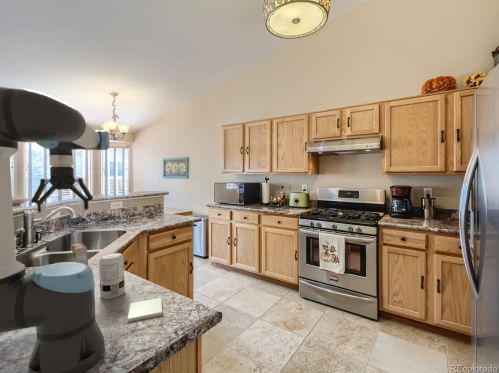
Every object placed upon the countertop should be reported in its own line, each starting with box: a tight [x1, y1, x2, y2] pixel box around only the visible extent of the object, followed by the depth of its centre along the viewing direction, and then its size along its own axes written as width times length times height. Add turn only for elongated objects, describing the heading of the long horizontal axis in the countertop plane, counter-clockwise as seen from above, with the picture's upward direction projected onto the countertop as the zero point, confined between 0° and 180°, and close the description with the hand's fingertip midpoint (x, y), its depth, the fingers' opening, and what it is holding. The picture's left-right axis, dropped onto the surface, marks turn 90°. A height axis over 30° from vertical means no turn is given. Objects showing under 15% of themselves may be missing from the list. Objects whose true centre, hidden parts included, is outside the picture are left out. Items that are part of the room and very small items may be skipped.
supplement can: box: [98, 252, 126, 300], centre depth 94 cm, size 8×8×15 cm
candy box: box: [71, 242, 89, 266], centre depth 109 cm, size 9×4×15 cm, turn 45°
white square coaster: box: [127, 297, 163, 322], centre depth 83 cm, size 10×10×1 cm
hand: (64, 219), depth 101 cm, fingers open, 13 cm apart
